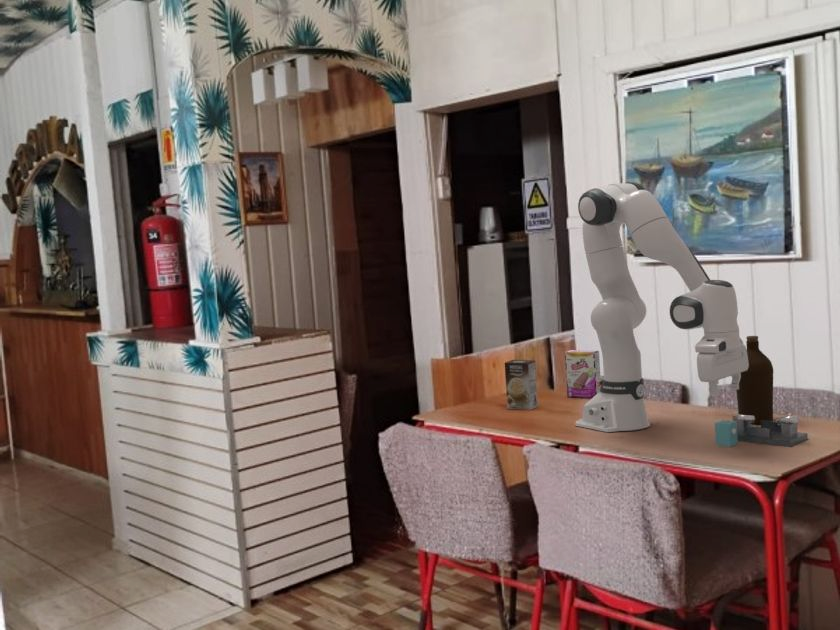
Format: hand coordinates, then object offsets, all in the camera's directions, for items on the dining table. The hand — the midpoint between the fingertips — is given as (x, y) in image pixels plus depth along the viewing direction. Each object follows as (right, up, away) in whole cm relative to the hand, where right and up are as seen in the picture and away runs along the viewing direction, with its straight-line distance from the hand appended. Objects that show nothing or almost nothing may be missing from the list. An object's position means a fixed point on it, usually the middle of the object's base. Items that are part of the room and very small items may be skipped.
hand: (725, 393), depth 249 cm
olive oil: (+17, -11, +25) cm, 32 cm away
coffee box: (-46, -11, +72) cm, 86 cm away
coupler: (+1, -14, +2) cm, 14 cm away
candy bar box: (-23, -8, +82) cm, 86 cm away
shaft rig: (+12, -13, +4) cm, 18 cm away
